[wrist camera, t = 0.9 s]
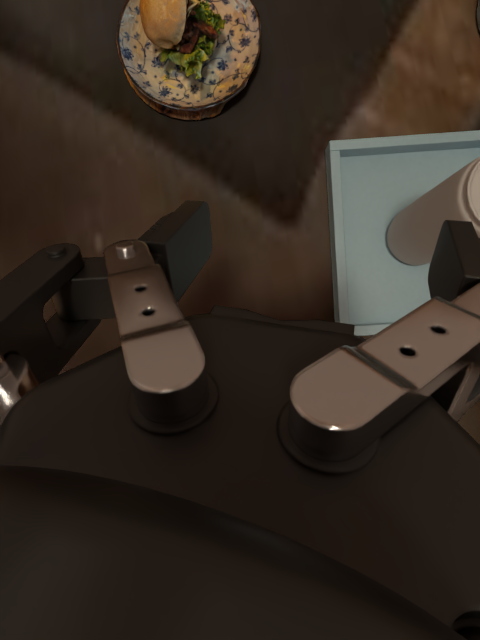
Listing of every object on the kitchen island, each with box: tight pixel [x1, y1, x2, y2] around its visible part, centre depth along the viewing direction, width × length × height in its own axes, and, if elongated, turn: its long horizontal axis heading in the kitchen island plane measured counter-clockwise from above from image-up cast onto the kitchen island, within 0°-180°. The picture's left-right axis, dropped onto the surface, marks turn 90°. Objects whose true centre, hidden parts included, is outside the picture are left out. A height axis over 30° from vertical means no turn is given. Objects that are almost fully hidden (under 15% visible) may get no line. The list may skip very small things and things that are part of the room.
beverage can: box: [387, 157, 480, 265], centre depth 26 cm, size 5×5×12 cm
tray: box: [325, 130, 480, 336], centre depth 31 cm, size 16×14×2 cm
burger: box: [116, 0, 261, 120], centre depth 29 cm, size 12×12×8 cm
